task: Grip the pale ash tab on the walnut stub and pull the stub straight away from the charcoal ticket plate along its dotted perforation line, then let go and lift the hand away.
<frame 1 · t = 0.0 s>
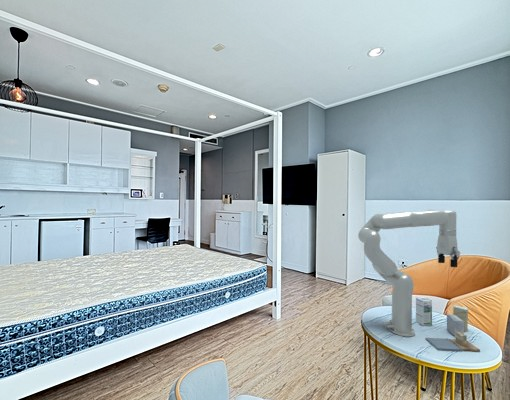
hand: (447, 264, 141), 37 cm above the table, tool pointing down, fingers open, 9 cm apart
stub: (464, 339, 127), point 3 cm above the table, slide at 0.0 cm
ticket plate: (443, 345, 128), on the table
medicine box: (455, 334, 140), on the table
syrup box: (423, 323, 152), on the table
skincare box: (460, 329, 146), on the table
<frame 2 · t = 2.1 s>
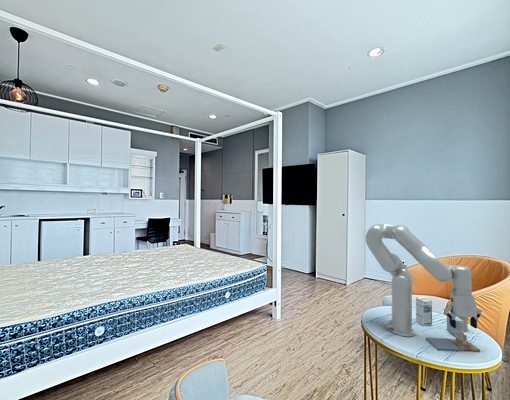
hand: (463, 327, 127), 9 cm above the table, tool pointing down, fingers open, 9 cm apart
nothing on the table moved.
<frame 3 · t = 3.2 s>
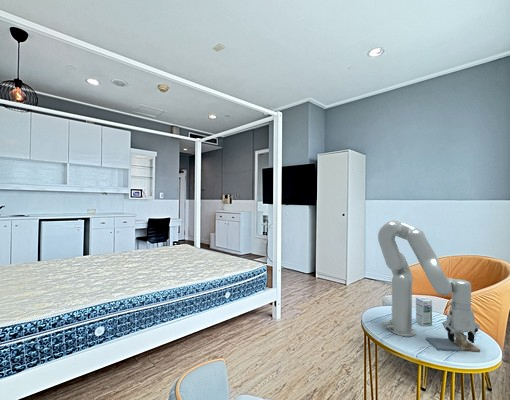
hand: (461, 341, 127), 2 cm above the table, tool pointing down, fingers open, 8 cm apart
nothing on the table moved.
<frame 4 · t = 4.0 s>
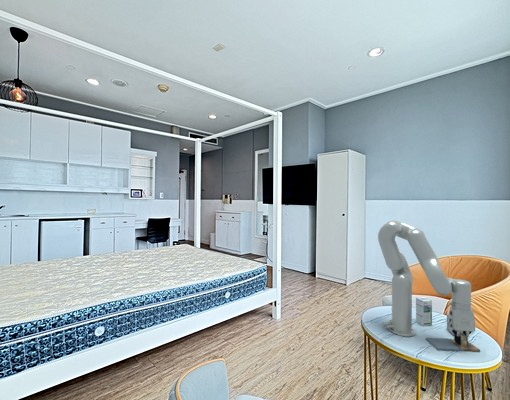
hand: (460, 343, 127), 1 cm above the table, tool pointing down, fingers closed on stub, 2 cm apart
stub: (464, 339, 127), point 3 cm above the table, slide at 0.0 cm, touching gripper
everything else where it was.
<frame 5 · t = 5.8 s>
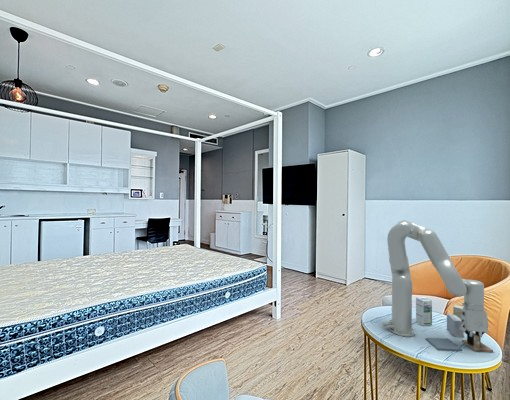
hand: (473, 343, 127), 1 cm above the table, tool pointing down, fingers closed on stub, 2 cm apart
stub: (476, 340, 127), point 3 cm above the table, slide at 6.0 cm, touching gripper
everything else where it was.
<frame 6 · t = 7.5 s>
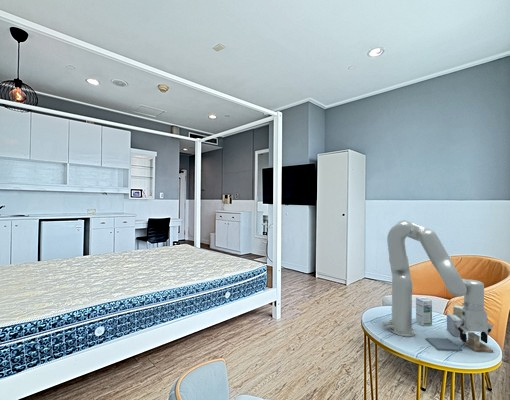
hand: (473, 341, 127), 3 cm above the table, tool pointing down, fingers open, 9 cm apart
stub: (476, 340, 127), point 3 cm above the table, slide at 6.0 cm
everything else where it was.
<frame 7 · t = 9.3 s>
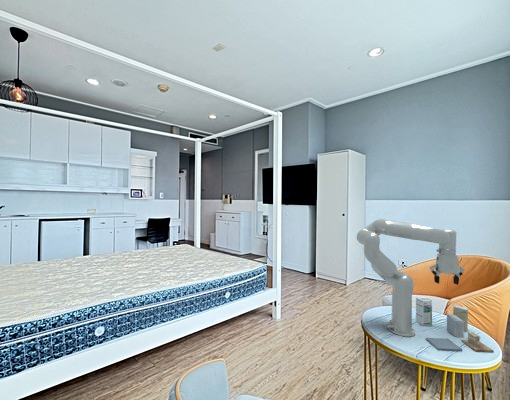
hand: (446, 283, 142), 26 cm above the table, tool pointing down, fingers open, 9 cm apart
nothing on the table moved.
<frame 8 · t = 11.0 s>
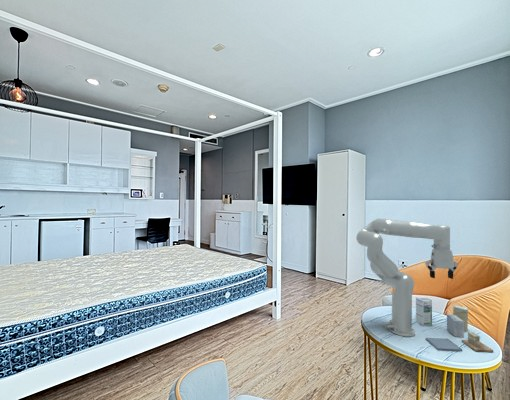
hand: (441, 277, 146), 28 cm above the table, tool pointing down, fingers open, 9 cm apart
nothing on the table moved.
at the end: stub slide at 6.0 cm; the gripper is holding nothing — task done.
